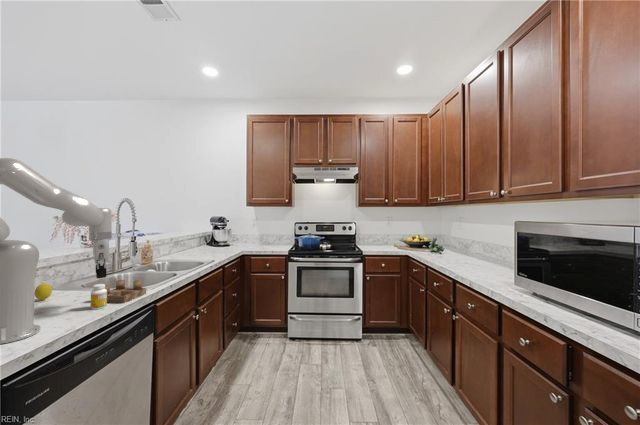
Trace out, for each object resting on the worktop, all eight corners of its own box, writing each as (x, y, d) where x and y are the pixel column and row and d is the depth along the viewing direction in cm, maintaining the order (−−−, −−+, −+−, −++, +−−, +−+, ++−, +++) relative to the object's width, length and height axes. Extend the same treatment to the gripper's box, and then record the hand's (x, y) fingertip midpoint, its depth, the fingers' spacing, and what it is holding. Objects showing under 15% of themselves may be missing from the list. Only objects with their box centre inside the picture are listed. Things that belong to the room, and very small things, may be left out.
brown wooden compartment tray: (124, 303, 119) (124, 287, 119) (94, 302, 119) (95, 286, 119) (146, 293, 133) (146, 280, 133) (119, 292, 133) (119, 279, 133)
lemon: (40, 303, 117) (40, 285, 117) (30, 301, 118) (31, 284, 118) (54, 299, 123) (55, 282, 123) (45, 298, 124) (46, 281, 124)
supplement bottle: (87, 308, 112) (88, 285, 112) (103, 304, 117) (103, 282, 117) (93, 310, 109) (94, 287, 109) (109, 306, 114) (109, 284, 114)
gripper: (113, 237, 109) (113, 278, 110) (110, 234, 122) (110, 270, 123) (89, 238, 104) (89, 281, 105) (88, 235, 117) (89, 273, 118)
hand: (100, 275), depth 114 cm, fingers open, 9 cm apart
